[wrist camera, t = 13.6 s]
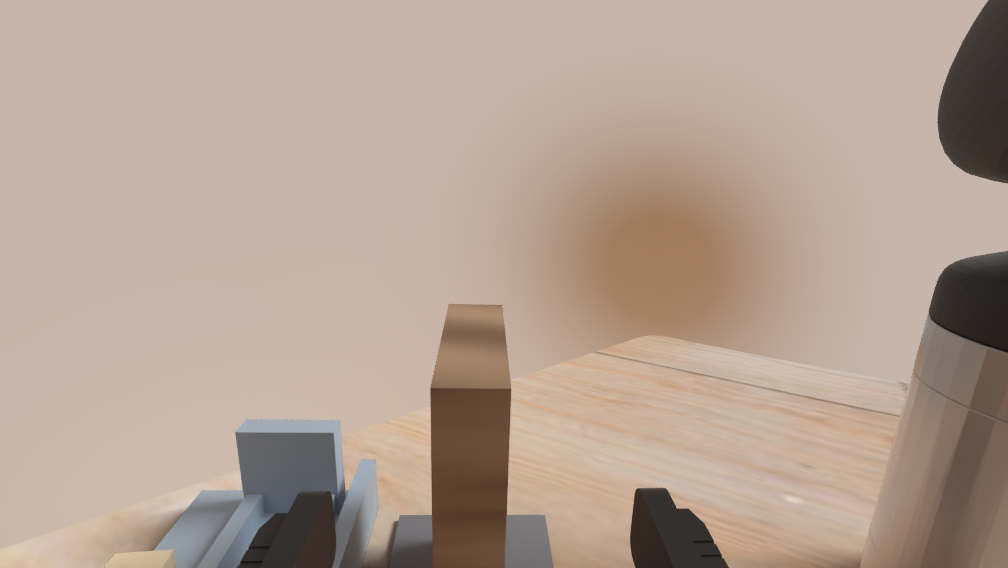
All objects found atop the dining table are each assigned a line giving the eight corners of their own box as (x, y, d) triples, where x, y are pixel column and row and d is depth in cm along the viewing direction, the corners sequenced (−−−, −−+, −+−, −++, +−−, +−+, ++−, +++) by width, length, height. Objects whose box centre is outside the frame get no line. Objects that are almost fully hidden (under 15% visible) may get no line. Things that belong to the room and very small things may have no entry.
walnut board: (449, 538, 33) (448, 304, 28) (495, 538, 33) (502, 304, 28) (434, 704, 23) (430, 388, 19) (499, 702, 23) (510, 388, 19)
